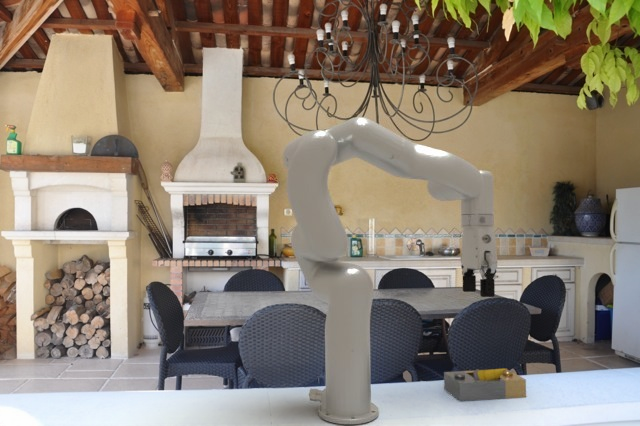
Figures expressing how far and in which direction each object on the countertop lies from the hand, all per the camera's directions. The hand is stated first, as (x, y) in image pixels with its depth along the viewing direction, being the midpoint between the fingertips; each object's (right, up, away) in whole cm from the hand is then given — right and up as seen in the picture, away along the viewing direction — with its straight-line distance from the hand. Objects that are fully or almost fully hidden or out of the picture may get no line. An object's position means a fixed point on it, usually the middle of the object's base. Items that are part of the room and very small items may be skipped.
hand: (478, 294), depth 121 cm
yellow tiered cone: (+1, -23, -2) cm, 23 cm away
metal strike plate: (+1, -23, -2) cm, 23 cm away
